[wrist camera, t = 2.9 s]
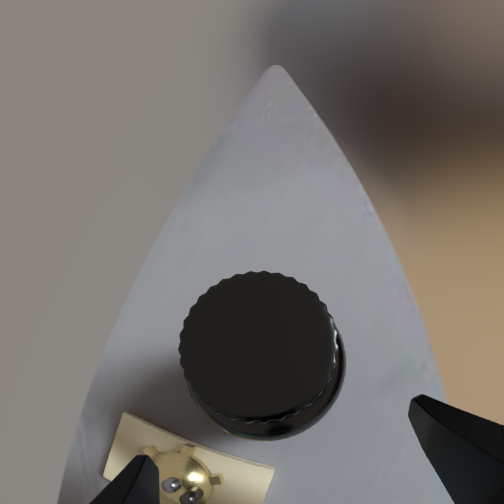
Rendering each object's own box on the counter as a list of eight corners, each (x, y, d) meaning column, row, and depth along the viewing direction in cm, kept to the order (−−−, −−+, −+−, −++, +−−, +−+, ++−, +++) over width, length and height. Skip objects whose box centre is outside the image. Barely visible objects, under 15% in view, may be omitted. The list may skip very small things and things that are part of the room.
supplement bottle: (213, 346, 20) (141, 265, 10) (305, 323, 20) (328, 219, 10) (233, 437, 16) (166, 469, 6) (332, 412, 16) (403, 410, 6)
